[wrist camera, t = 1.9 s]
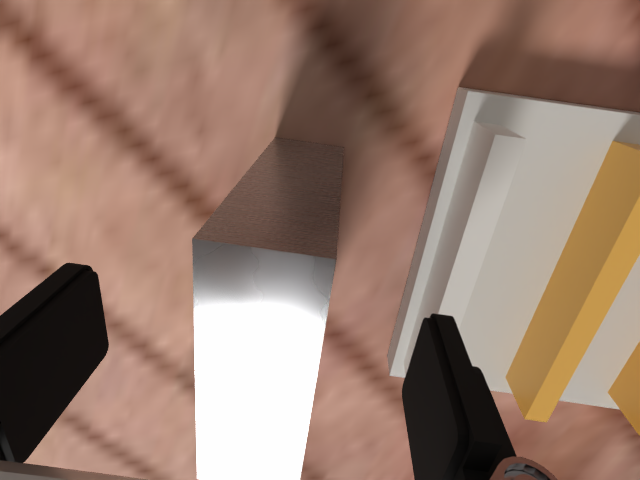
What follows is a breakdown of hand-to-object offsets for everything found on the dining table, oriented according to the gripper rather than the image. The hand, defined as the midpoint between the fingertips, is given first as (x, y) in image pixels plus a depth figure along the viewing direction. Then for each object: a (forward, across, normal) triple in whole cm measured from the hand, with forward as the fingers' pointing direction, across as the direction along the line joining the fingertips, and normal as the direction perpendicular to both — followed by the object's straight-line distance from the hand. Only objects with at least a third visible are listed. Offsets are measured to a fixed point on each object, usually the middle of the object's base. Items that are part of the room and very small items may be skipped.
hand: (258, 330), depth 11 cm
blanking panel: (+8, 0, 0) cm, 8 cm away
